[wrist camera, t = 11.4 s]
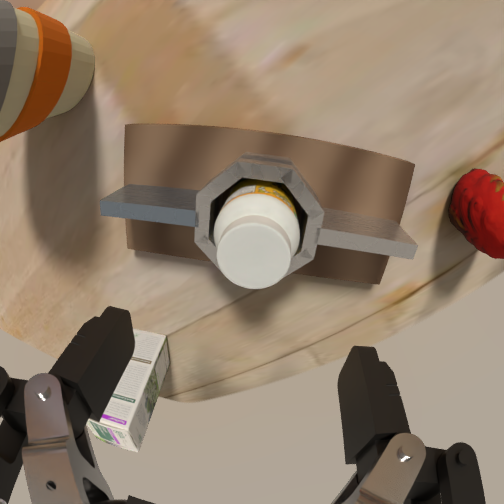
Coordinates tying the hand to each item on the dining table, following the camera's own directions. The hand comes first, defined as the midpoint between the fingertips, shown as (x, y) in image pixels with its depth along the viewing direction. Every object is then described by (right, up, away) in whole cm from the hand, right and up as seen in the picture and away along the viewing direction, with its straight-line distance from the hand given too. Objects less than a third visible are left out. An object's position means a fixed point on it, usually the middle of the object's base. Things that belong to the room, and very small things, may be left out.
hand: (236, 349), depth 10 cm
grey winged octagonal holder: (+1, +7, +14) cm, 16 cm away
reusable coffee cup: (-19, +22, +11) cm, 31 cm away
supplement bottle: (+1, +7, +14) cm, 16 cm away
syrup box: (-13, -9, +26) cm, 30 cm away
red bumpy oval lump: (+23, +9, +14) cm, 28 cm away
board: (+1, +8, +16) cm, 18 cm away
